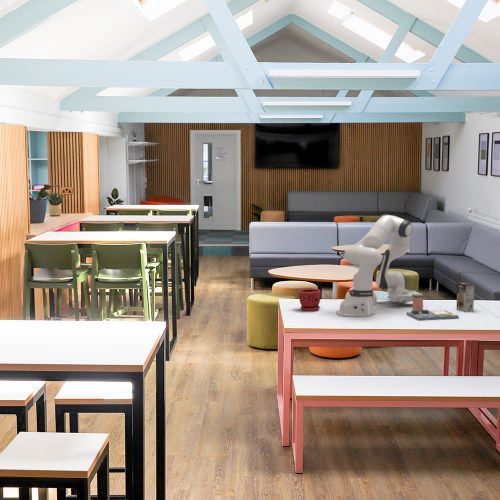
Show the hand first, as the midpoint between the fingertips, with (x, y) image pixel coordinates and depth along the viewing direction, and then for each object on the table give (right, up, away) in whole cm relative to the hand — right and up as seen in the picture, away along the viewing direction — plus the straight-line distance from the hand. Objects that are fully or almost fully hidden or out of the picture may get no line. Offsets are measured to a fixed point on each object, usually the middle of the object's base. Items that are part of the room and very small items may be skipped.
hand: (410, 299), depth 467 cm
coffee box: (+31, -6, -6) cm, 32 cm away
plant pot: (-61, -6, 0) cm, 61 cm away
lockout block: (+2, -7, -9) cm, 12 cm away
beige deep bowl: (-27, -4, +21) cm, 34 cm away
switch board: (+7, -8, -24) cm, 27 cm away
